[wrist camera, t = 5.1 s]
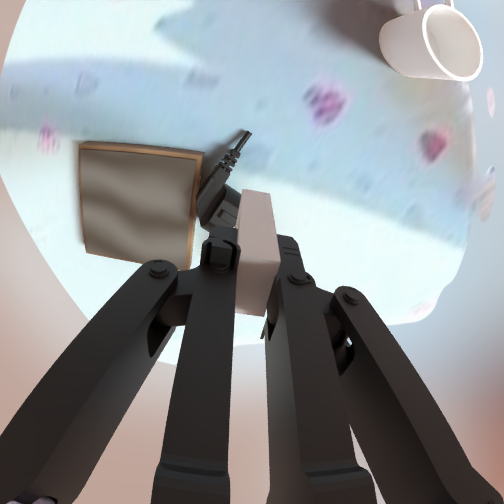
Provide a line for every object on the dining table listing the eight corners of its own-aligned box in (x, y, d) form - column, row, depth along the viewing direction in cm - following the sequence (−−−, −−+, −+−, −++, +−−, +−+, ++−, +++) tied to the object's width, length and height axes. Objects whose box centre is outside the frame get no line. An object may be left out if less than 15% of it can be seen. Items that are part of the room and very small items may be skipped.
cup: (430, 6, 19) (476, -6, 11) (432, 83, 26) (482, 90, 17) (375, -13, 19) (414, -37, 11) (378, 70, 26) (423, 68, 17)
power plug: (248, 126, 27) (183, 222, 29) (304, 168, 30) (242, 257, 32) (239, 129, 32) (184, 211, 34) (286, 164, 35) (233, 241, 37)
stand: (86, 141, 30) (77, 145, 28) (204, 152, 32) (201, 156, 30) (91, 245, 38) (84, 254, 36) (191, 263, 40) (188, 273, 38)
